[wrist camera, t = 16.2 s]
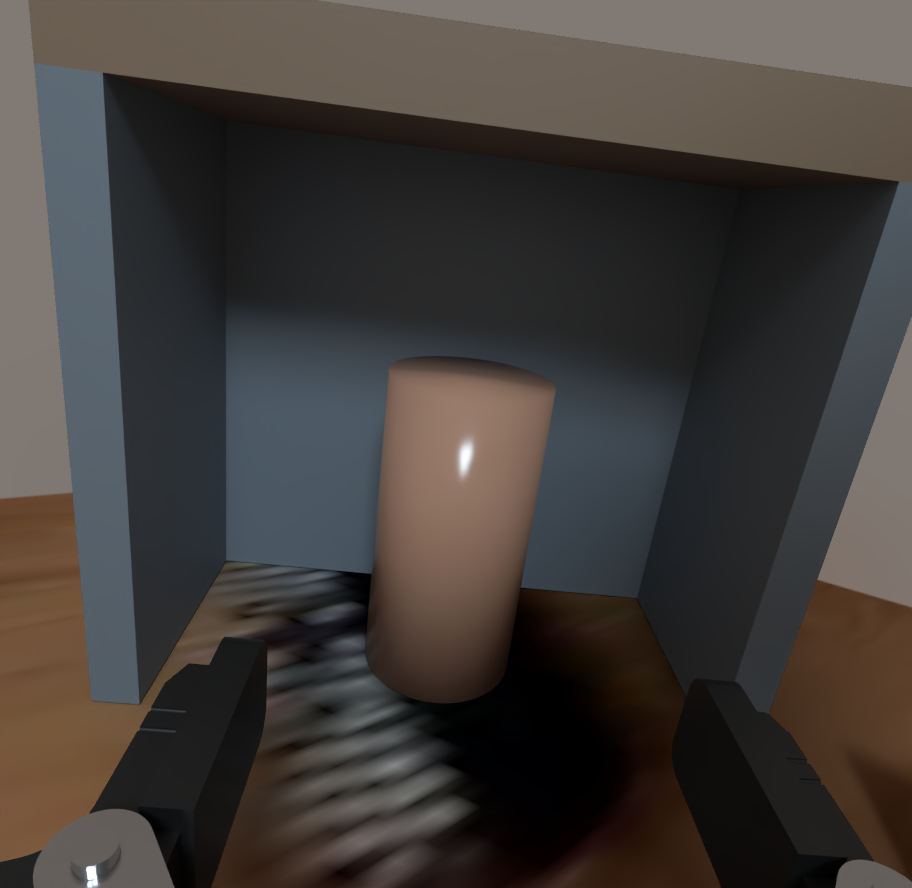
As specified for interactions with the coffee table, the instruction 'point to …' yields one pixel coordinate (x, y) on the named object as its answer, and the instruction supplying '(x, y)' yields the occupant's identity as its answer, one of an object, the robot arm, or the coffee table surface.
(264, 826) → the coffee table surface
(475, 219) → the counter
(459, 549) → the pinkish-brown cylinder
